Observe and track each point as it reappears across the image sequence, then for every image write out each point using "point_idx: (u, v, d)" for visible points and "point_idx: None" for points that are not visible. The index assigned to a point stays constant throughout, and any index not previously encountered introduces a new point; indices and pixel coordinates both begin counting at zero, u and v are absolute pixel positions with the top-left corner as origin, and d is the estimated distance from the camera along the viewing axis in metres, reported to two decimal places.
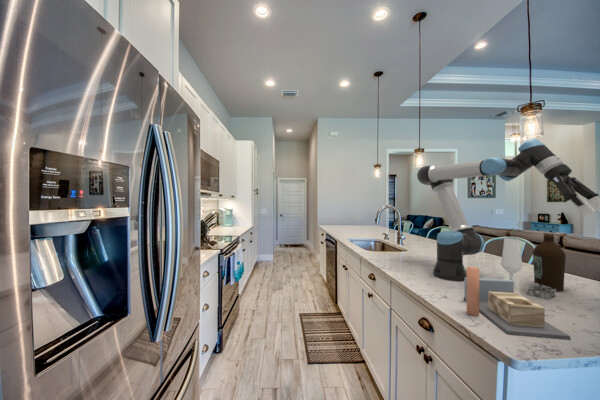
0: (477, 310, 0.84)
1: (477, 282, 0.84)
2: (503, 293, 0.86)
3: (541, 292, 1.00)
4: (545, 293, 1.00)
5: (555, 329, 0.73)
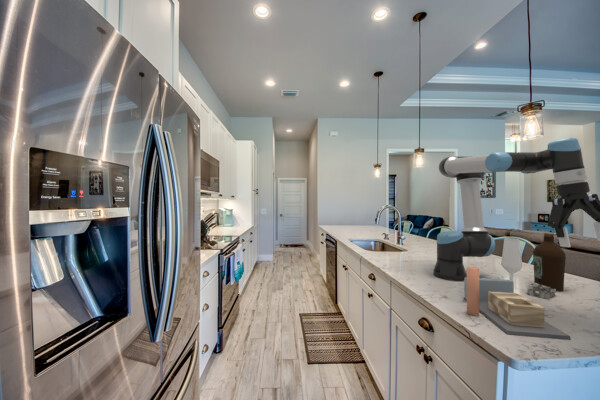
0: (477, 310, 0.84)
1: (477, 282, 0.84)
2: (503, 293, 0.86)
3: (541, 292, 1.00)
4: (545, 293, 1.00)
5: (555, 329, 0.73)
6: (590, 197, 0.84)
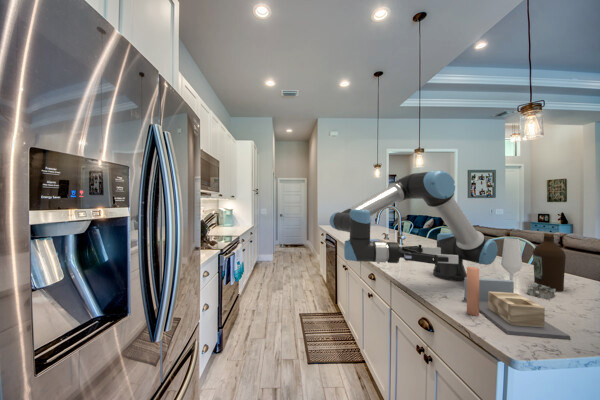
0: (477, 310, 0.84)
1: (477, 282, 0.84)
2: (503, 293, 0.86)
3: (541, 292, 1.00)
4: (545, 293, 1.00)
5: (555, 329, 0.73)
6: None
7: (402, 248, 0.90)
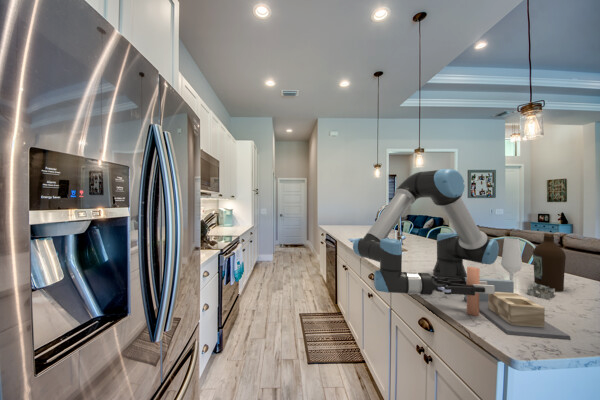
0: (477, 310, 0.84)
1: (477, 282, 0.84)
2: (503, 293, 0.86)
3: (542, 292, 1.00)
4: (546, 293, 1.00)
5: (555, 329, 0.73)
6: None
7: (434, 279, 0.89)
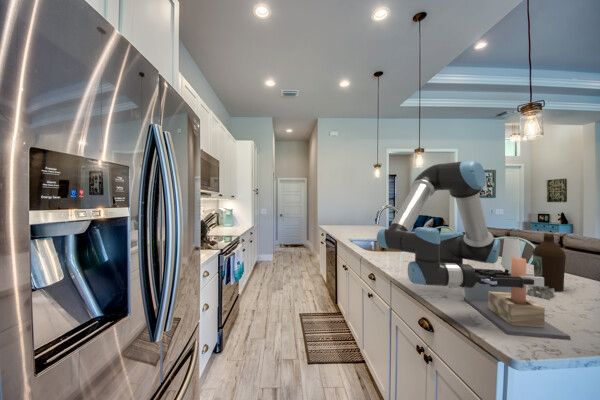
0: (524, 304, 0.77)
1: (524, 274, 0.77)
2: (503, 293, 0.86)
3: (542, 292, 1.00)
4: (546, 293, 1.00)
5: (555, 329, 0.73)
6: None
7: (474, 270, 0.82)
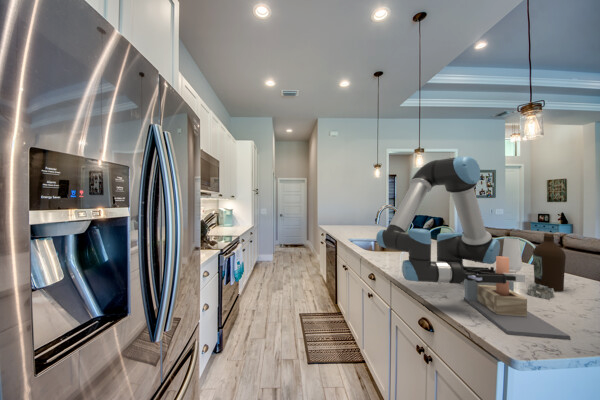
0: None
1: (507, 271, 0.85)
2: (491, 286, 0.93)
3: (542, 292, 1.00)
4: (546, 293, 1.00)
5: (555, 329, 0.73)
6: None
7: (463, 268, 0.90)
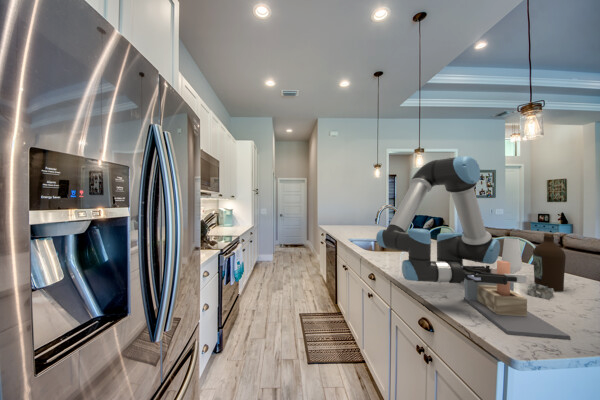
0: None
1: None
2: (491, 286, 0.93)
3: (542, 292, 1.00)
4: (546, 293, 1.00)
5: (555, 329, 0.73)
6: None
7: (462, 268, 0.91)
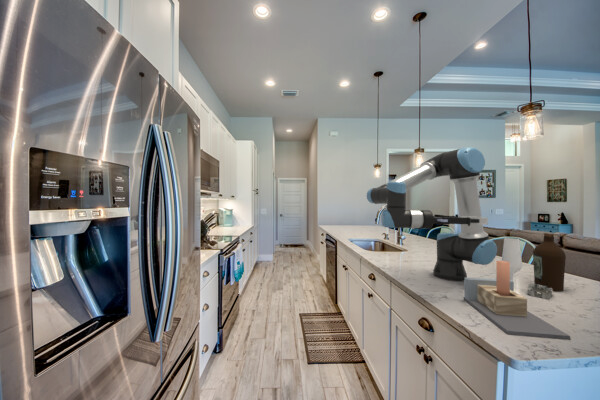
0: None
1: (508, 275, 0.85)
2: (491, 286, 0.93)
3: (543, 292, 1.00)
4: (546, 293, 1.00)
5: (555, 329, 0.73)
6: None
7: (434, 215, 1.02)
